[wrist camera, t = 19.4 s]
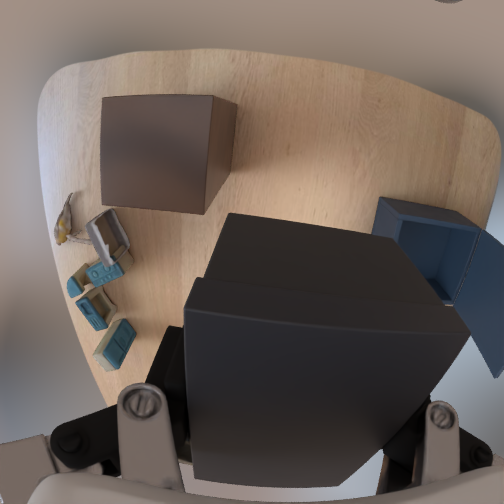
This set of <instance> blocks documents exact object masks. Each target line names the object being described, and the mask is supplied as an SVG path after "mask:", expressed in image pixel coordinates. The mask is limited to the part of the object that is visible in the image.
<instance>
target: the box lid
mask: <svg viewBox="0 0 504 504" xmlns="http://www.w3.org/2000/svg"><path fill="white" fill-rule="evenodd" d="M453 307H454V308H455V310H456V311H457V313H458V314H459V315H460V317H461V318H462V320H463V321H464V323H465V324H466V325H467V327H468V328H469V330H470V331H471V336H472V338H473V340H474V342H475V343H476V345H477V347H478V348H479V351H480V352H481V354H482V356H483V358H484V360H485V362H486V363H487V365H488V367H489V369H490V371H491V373H492V375H493V377H494V378H498V377H499V375H500V374H501V372H502V371H503V370H504V245H502V244H501V243H500V242H499V241H498V240H497V239H495V238H494V237H493V236H492V235H490V234H489V233H488V232H486V231H485V230H482V231H481V234H480V238H479V241H478V244H477V247H476V250H475V253H474V255H473V258H472V261H471V264H470V266H469V269H468V272H467V274H466V277H465V279H464V282H463V284H462V287H461V289H460V291H459V294H458V296H457V298H456V300H455V303H454V305H453Z"/></svg>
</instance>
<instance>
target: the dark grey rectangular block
mask: <svg viewBox="0 0 504 504" xmlns="http://www.w3.org/2000/svg"><path fill="white" fill-rule="evenodd" d="M470 335H471V331H470V330H469V328H468V327H467V325H466V324H465V323H464V321H463V320H462V318H461V317H460V315H459V314H458V313H457V311H456V310H455V308H454V307H452V306H445V305H444V303H443V302H442V301H441V299H440V298H439V297H438V295H437V294H436V292H435V291H434V290H433V288H432V287H431V286H430V284H429V283H428V282H427V280H426V279H425V278H424V277H423V275H422V274H421V273H420V271H419V270H418V269H417V268H416V266H415V265H414V264H413V262H412V261H411V260H410V259H409V258H408V256H407V255H406V254H405V253H404V251H403V250H402V249H401V248H400V247H399V245H398V244H397V243H396V242H395V241H394V239H393V238H389V237H383V236H378V235H372V234H366V233H361V232H355V231H349V230H343V229H337V228H331V227H325V226H319V225H312V224H306V223H299V222H293V221H286V220H279V219H272V218H265V217H258V216H251V215H244V214H236V213H228V215H227V218H226V220H225V223H224V225H223V228H222V230H221V233H220V236H219V238H218V241H217V243H216V246H215V248H214V251H213V254H212V256H211V259H210V261H209V264H208V267H207V269H206V272H205V274H204V277H203V278H201V277H197V278H196V279H195V281H194V284H193V286H192V289H191V291H190V294H189V296H188V299H187V301H186V303H185V306H184V351H185V375H186V392H187V407H188V421H189V432H190V443H191V453H192V462H193V471H194V478H195V479H200V480H206V481H212V482H219V483H227V484H235V485H245V486H258V487H280V488H281V487H282V488H311V487H332V486H339V485H340V484H341V483H343V482H344V481H345V480H346V479H348V478H349V477H350V476H351V475H352V474H353V473H355V472H356V471H357V470H358V469H359V468H360V467H361V466H363V465H364V464H365V463H366V462H367V461H368V460H369V459H370V458H371V457H372V456H373V455H374V454H376V453H377V452H378V451H379V450H380V449H381V448H382V447H383V446H384V445H385V444H386V443H387V442H388V441H389V440H390V439H391V438H392V437H393V436H394V435H395V434H396V432H397V431H398V430H399V429H400V428H401V427H402V426H403V425H404V424H405V423H406V422H407V420H408V419H409V418H410V417H411V416H412V415H413V414H414V412H415V411H416V410H417V409H418V408H419V407H420V405H421V404H422V403H423V402H424V401H425V399H426V398H427V397H428V396H429V394H430V393H431V392H432V390H433V389H434V388H435V387H436V385H437V384H438V383H439V381H440V380H441V379H442V377H443V376H444V374H445V373H446V372H447V370H448V369H449V367H450V366H451V365H452V363H453V362H454V360H455V358H456V357H457V356H458V354H459V353H460V351H461V349H462V348H463V346H464V345H465V343H466V342H467V340H468V338H469V337H470Z"/></svg>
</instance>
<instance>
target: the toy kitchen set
mask: <svg viewBox="0 0 504 504" xmlns="http://www.w3.org/2000/svg"><path fill="white" fill-rule="evenodd" d="M124 250H125V246H124V245H121V246H120V247H119V248H118V249H117V250H116V251H115V252H114V253H113V254H112V255H111V256H110V258H111V259H112V260H113V261H116V260H117V258H118V257H119V256H120V255H121V253H122V252H123V251H124ZM133 262H134V260H133V258H132V257H131V255H130V254H129V252H128V251H126V253H125V254H124V255H123V256H122V257H121V259H119V260H118V261H117V262H116V263H115V264H113V265H111V266H109V267H105V266H104V265H103V263H102V261H101V259H100V258H99V259H98V260H97V261H96V262H95V263H93V264H92V265H91V266H90V267H88V265H87V264H86V263H85V264H84V265H83V266H82V267H81V268H80V269H79V270H78V271H77V272H76V273H75V274H74V275H73V276H71V277H70V278H69V280H68V282H67V290H68V293H69V296H70V297H71V298H73V297H75V296H78V295H80V294H82V293H83V291H84V290H85V288H84V286H85V285H87V284H89V283H91V282H92V283H93V285H94V286H95V288H93V289H91V290H89V291H88V292H87V293H86V294H85V295H83V296H82V297H81V298H80V299H79V300H77V301H76V302H75V303H76V305H77V306H78V308H79V309H80V311H81V312H82V313H83V315H84V316H85V317H86V319H87V320H88V321H89V323H90V324H91V325H92V326H93V328H94V329H95V330H96V331H99V330H103V329H106V328H108V325H109V324H110V322H111V320H112V318H113V316H114V314H115V312H116V310H117V307H116V305H113V304H112V303H111V302H110V300H109V299H108V298H107V296H106V295H105V293H104V292H103V286H102V285H103V284H106V283H108V282H110V281H112V280H114V279H116V278H119V277H121V276H123V275H124V274H125V273H126V271H127V270H128V269H129V267H130V266H131V265H132V263H133ZM135 337H136V332H135V331H134V330H133V328H132V327H131V326H130V324H129V323H128V322H127V320H126V319H121V320H118V321H115V322H113V323H112V325H111V326H110V328H109V329H108V331H107V332H106V334H105V336H104V337H103V339H102V340H101V342H100V343H99V345H98V347H97V348H96V350H95V351H94V353H93V357H94V359H95V360H96V361H97V362H98V363H99V364H100V365H101V367H102V368H103V369H104V370H105V371H113V370H117V369H119V368H120V366H121V364H122V362H123V360H124V358H125V356H126V354H127V352H128V350H129V348H130V346H131V344H132V342H133V340H134V339H135Z"/></svg>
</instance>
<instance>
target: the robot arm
mask: <svg viewBox="0 0 504 504" xmlns="http://www.w3.org/2000/svg"><path fill="white" fill-rule="evenodd" d="M189 439H190V432H189V421H188V407H187V392H186V375H185V351H184V325H183V328H181V327H175V326H170V325H169V326H168V328H167V330H166V332H165V334H164V337H163V339H162V341H161V344H160V346H159V349H158V351H157V354H156V356H155V358H154V361H153V363H152V366H151V368H150V371H149V373H148V376H147V378H146V381H145V383H135V384H132V385H129V386H127V387H126V388H125V389H123V390H122V391H121V393H120V395H119V396H118V401H117V404H116V405H113V406H110V407H108V408H105V409H103V410H100V411H97V412H95V413H92V414H89V415H86V416H83V417H81V418H78V419H75V420H72V421H69V422H66V423H63V424H61V425H59V426H57V427H56V428H55V429H54V431H53V432H52V434H51V435H49V436H44V435H43V434H41V435H37V436H33V437H29V438H25V439H21V440H16V441H12V442H8V443H3V444H0V500H1V503H2V504H504V459H503V458H502V457H500V456H498V455H496V454H494V455H493V454H492V451H491V449H490V447H489V446H488V445H487V444H486V443H485V442H483V441H481V440H480V439H478V438H477V437H475V436H473V435H472V434H470V433H468V432H467V431H465V430H464V429H462V428H460V427H459V421H458V415H457V413H456V411H455V409H454V408H453V407H452V406H451V405H450V404H448V403H447V402H444V401H434V402H431V400H430V394H429V396H428V397H427V398H426V399H425V401H424V402H423V403H422V404H421V405H420V407H419V408H418V409H417V410H416V411H415V412H414V414H413V415H412V416H411V417H410V418H409V419H408V420H407V422H406V423H405V424H404V425H403V426H402V427H401V428H400V429H399V430H398V431H397V432H396V434H395V435H394V436H393V437H392V438H391V439H390V440H389V441H388V442H387V443H386V444H385V445H384V446H383V447H382V448H381V449H383V453H384V458H383V464H382V469H381V473H380V478H379V483H378V487H377V491H376V495H375V496H368V497H361V498H353V499H344V500H334V501H320V502H259V501H244V500H233V499H224V498H217V497H209V496H202V495H196V494H190V493H186V492H185V488H184V484H183V480H182V475H181V471H180V467H179V462H178V457H177V452H176V450H177V449H179V448H181V447H183V446H185V441H189ZM120 475H121V476H122V479H121V478H116V477H118V476H120Z"/></svg>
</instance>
